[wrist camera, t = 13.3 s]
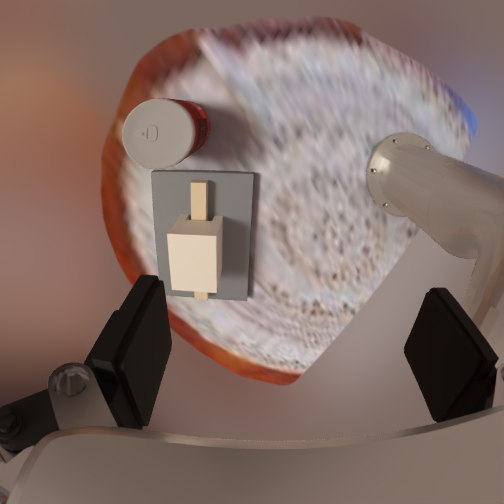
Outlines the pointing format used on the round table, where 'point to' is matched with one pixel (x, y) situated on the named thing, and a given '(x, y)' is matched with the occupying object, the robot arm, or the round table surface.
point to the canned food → (164, 132)
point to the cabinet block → (195, 254)
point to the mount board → (219, 205)
